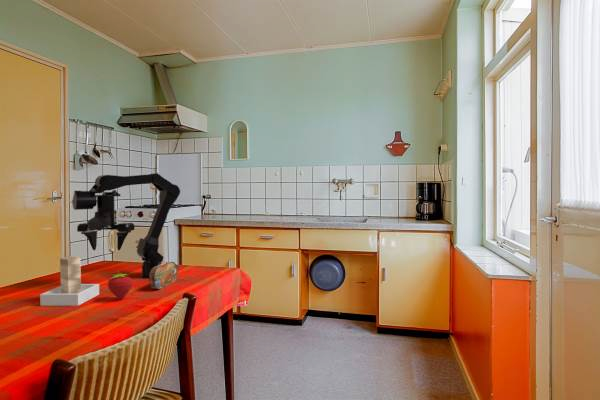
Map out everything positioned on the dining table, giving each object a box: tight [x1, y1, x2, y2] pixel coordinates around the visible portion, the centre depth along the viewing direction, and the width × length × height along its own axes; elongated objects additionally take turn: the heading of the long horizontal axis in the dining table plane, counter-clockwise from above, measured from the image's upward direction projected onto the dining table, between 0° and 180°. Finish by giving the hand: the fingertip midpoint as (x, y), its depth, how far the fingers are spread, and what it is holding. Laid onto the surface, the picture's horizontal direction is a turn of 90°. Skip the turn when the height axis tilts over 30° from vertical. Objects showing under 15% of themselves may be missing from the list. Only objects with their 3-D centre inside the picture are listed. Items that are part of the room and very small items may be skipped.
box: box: [39, 283, 100, 307], centre depth 115 cm, size 12×12×4 cm
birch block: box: [59, 255, 82, 294], centre depth 114 cm, size 4×4×13 cm
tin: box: [148, 261, 179, 290], centre depth 131 cm, size 15×3×8 cm, turn 168°
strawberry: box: [107, 271, 134, 301], centre depth 115 cm, size 6×8×10 cm
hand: (106, 250), depth 132 cm, fingers open, 9 cm apart
